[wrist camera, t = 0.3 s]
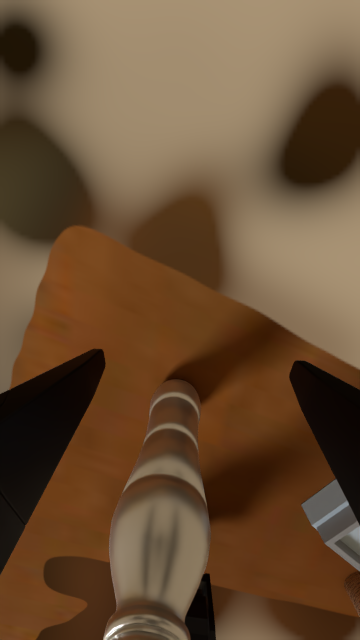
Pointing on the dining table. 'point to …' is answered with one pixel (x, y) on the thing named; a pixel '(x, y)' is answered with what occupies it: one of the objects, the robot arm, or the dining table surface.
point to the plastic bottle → (161, 524)
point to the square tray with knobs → (335, 522)
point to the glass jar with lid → (354, 589)
